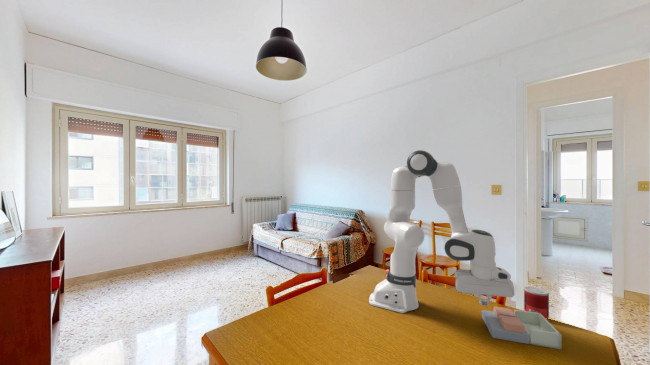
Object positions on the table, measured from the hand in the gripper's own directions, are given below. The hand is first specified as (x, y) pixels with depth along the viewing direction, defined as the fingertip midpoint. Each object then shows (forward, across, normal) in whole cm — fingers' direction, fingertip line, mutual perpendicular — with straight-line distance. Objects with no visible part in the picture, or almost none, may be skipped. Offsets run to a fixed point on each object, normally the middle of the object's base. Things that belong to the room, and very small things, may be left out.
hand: (484, 304), depth 102 cm
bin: (+7, +16, -4) cm, 18 cm away
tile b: (+4, +7, -7) cm, 11 cm away
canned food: (+8, +22, +12) cm, 26 cm away
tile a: (+4, +7, 0) cm, 8 cm away
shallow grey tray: (+7, +5, -4) cm, 10 cm away
